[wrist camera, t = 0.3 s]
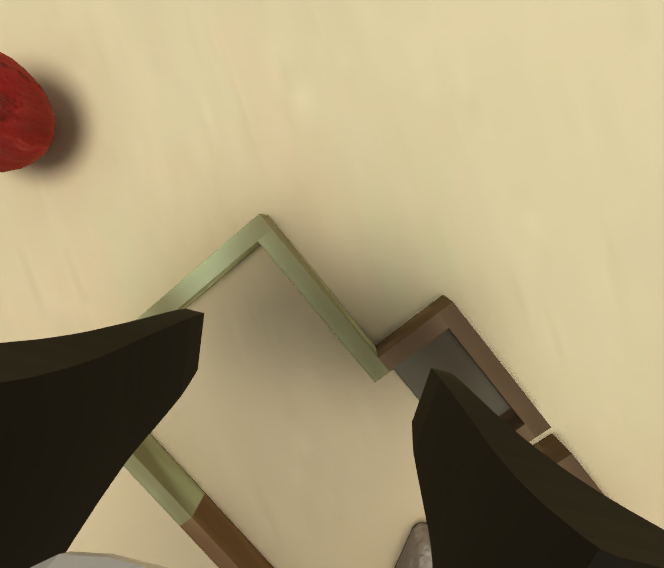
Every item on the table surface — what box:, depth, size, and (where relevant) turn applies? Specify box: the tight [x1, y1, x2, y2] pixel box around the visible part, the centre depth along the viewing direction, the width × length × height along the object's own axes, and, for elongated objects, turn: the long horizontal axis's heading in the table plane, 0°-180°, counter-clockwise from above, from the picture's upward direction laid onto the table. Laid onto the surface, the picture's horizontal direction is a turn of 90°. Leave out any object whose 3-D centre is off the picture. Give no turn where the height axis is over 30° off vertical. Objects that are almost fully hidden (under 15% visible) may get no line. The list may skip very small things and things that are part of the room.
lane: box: [124, 214, 604, 568], centre depth 22 cm, size 21×37×2 cm, turn 39°
